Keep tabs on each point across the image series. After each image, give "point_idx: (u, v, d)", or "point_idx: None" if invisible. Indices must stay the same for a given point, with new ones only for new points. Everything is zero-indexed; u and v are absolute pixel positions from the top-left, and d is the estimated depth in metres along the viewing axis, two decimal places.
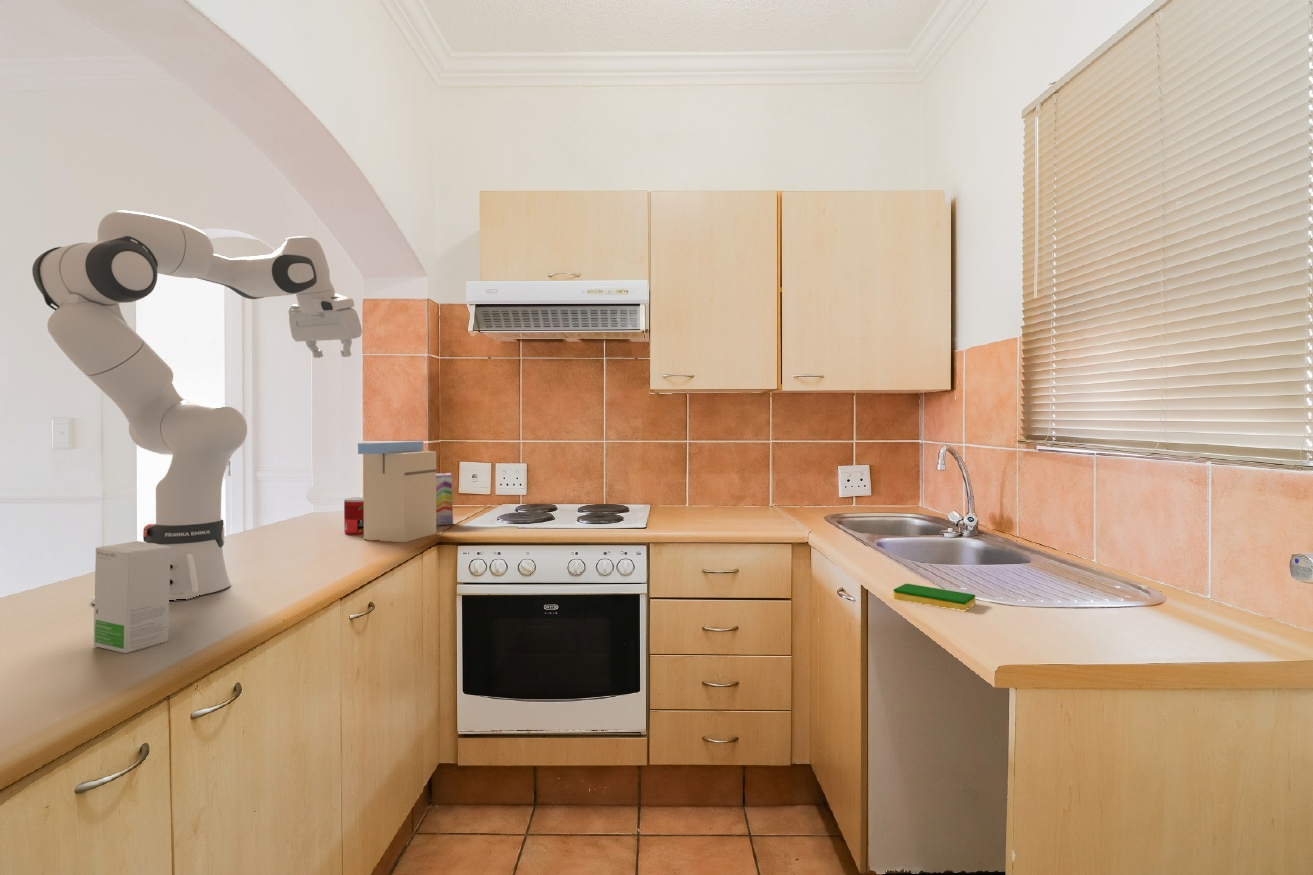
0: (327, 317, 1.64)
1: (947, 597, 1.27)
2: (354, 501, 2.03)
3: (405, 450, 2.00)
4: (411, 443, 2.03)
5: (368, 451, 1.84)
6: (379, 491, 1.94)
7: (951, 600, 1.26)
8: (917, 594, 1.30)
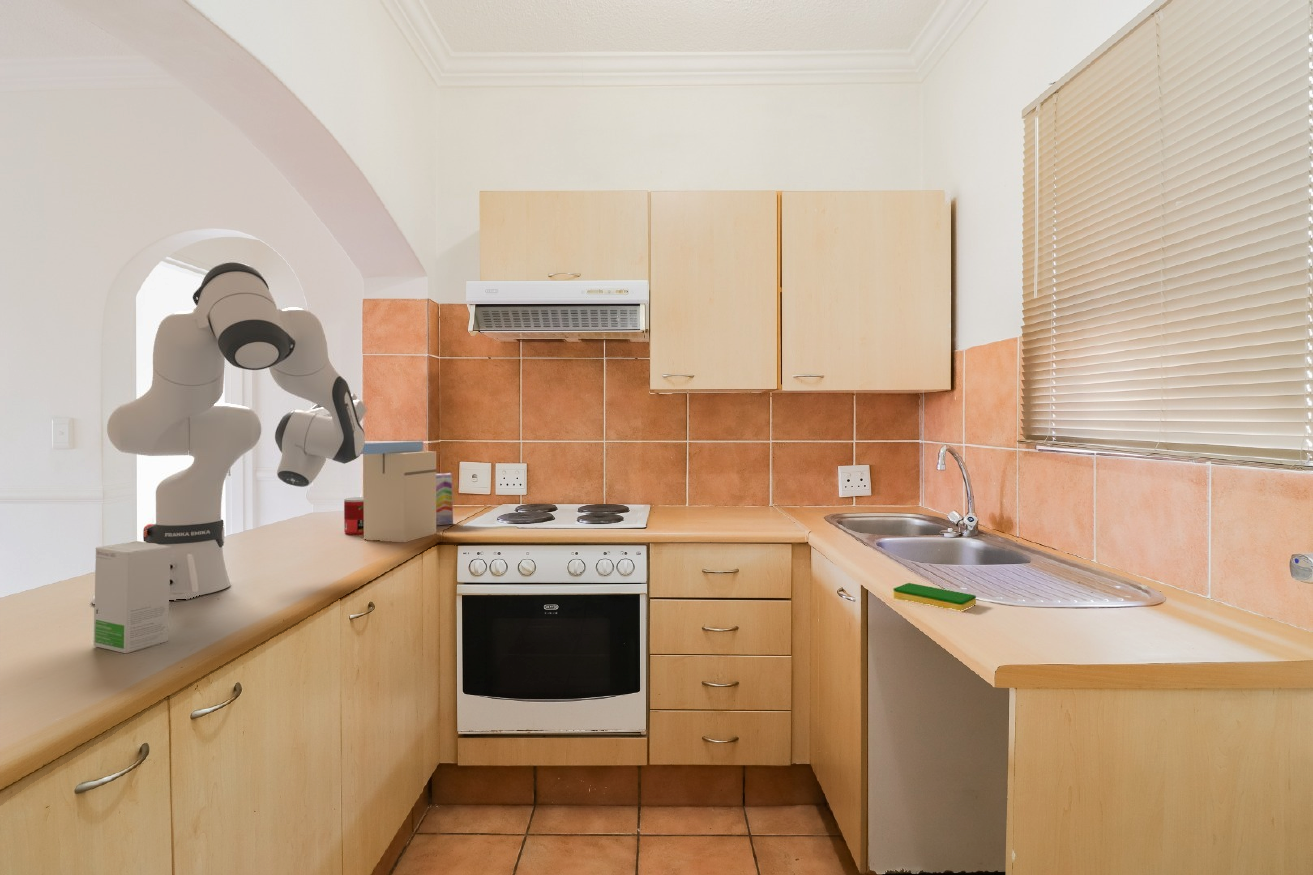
0: None
1: (945, 597, 1.27)
2: (354, 501, 2.03)
3: (405, 450, 2.00)
4: (411, 443, 2.03)
5: (368, 451, 1.84)
6: (379, 491, 1.94)
7: (949, 600, 1.26)
8: (916, 593, 1.30)
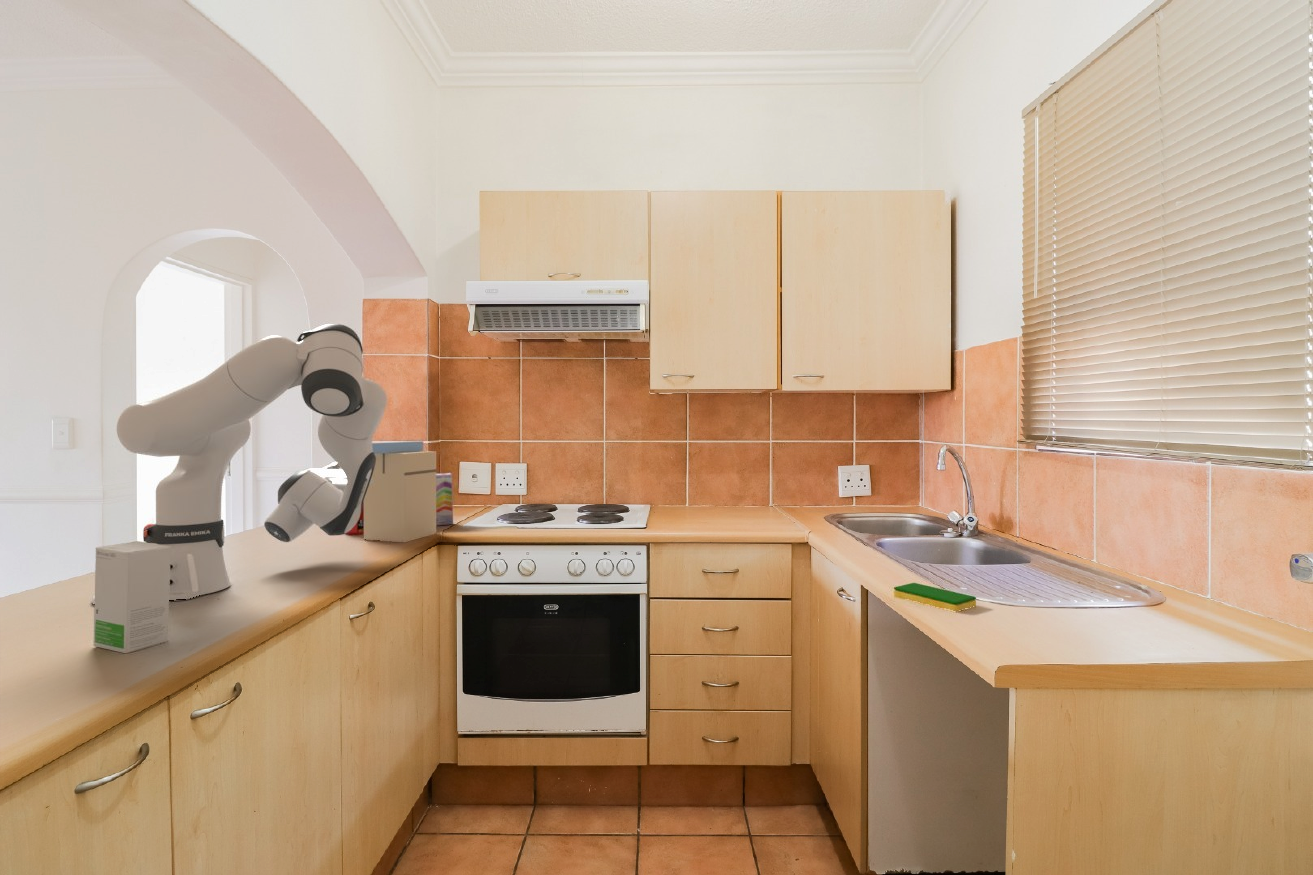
0: None
1: (942, 597, 1.27)
2: None
3: (405, 450, 2.00)
4: (411, 443, 2.03)
5: None
6: (379, 491, 1.94)
7: (944, 600, 1.26)
8: (914, 593, 1.31)
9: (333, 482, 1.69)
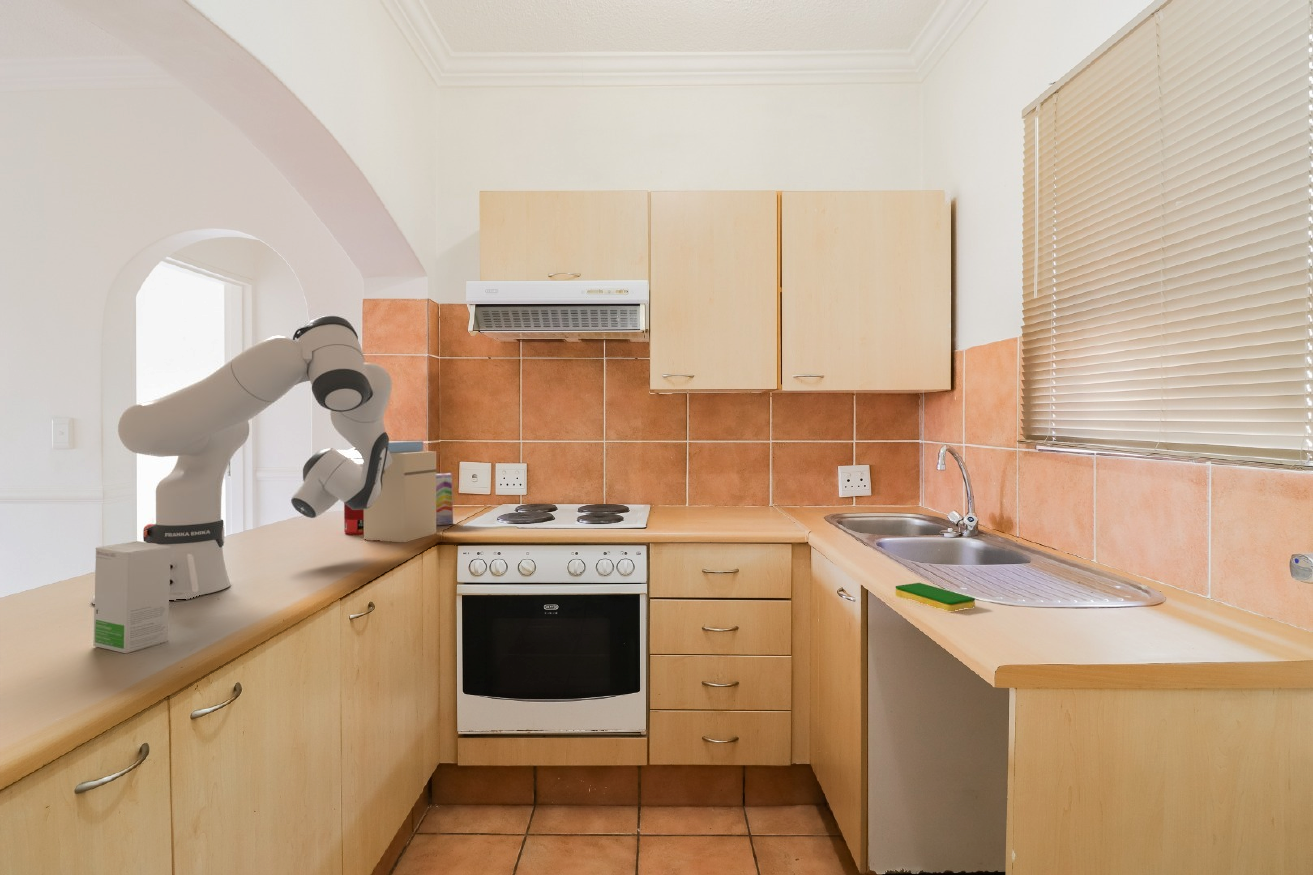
0: None
1: (938, 597, 1.27)
2: None
3: (405, 450, 2.00)
4: (411, 443, 2.03)
5: None
6: None
7: (939, 600, 1.26)
8: (913, 592, 1.32)
9: (355, 462, 1.77)
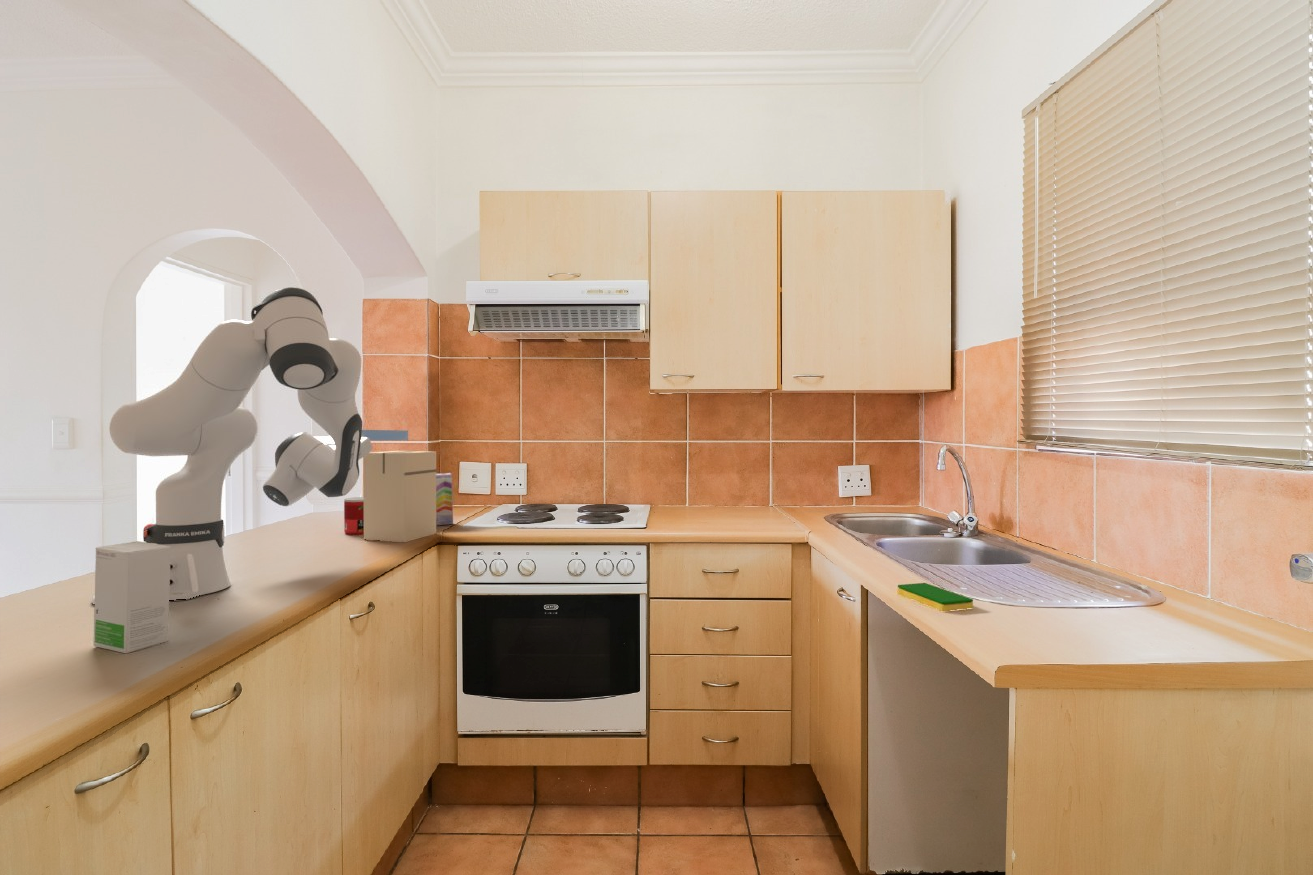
0: None
1: (934, 597, 1.27)
2: (354, 501, 2.03)
3: (388, 438, 1.91)
4: (395, 432, 1.94)
5: None
6: (379, 491, 1.94)
7: (934, 599, 1.26)
8: (912, 591, 1.32)
9: (332, 448, 1.69)
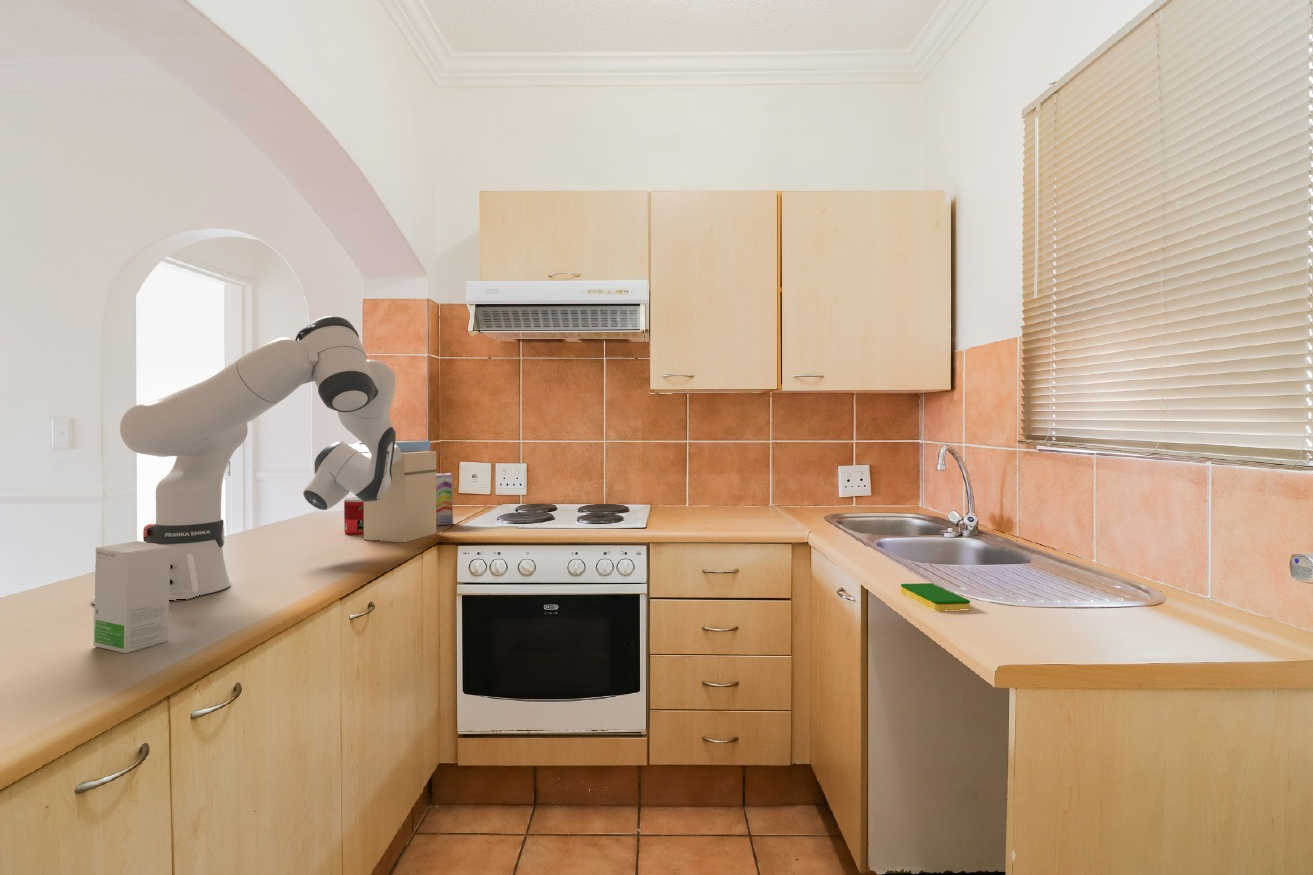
0: None
1: (930, 596, 1.28)
2: (354, 501, 2.03)
3: (413, 450, 2.04)
4: (418, 443, 2.06)
5: None
6: None
7: (929, 599, 1.26)
8: (912, 590, 1.33)
9: (365, 456, 1.81)
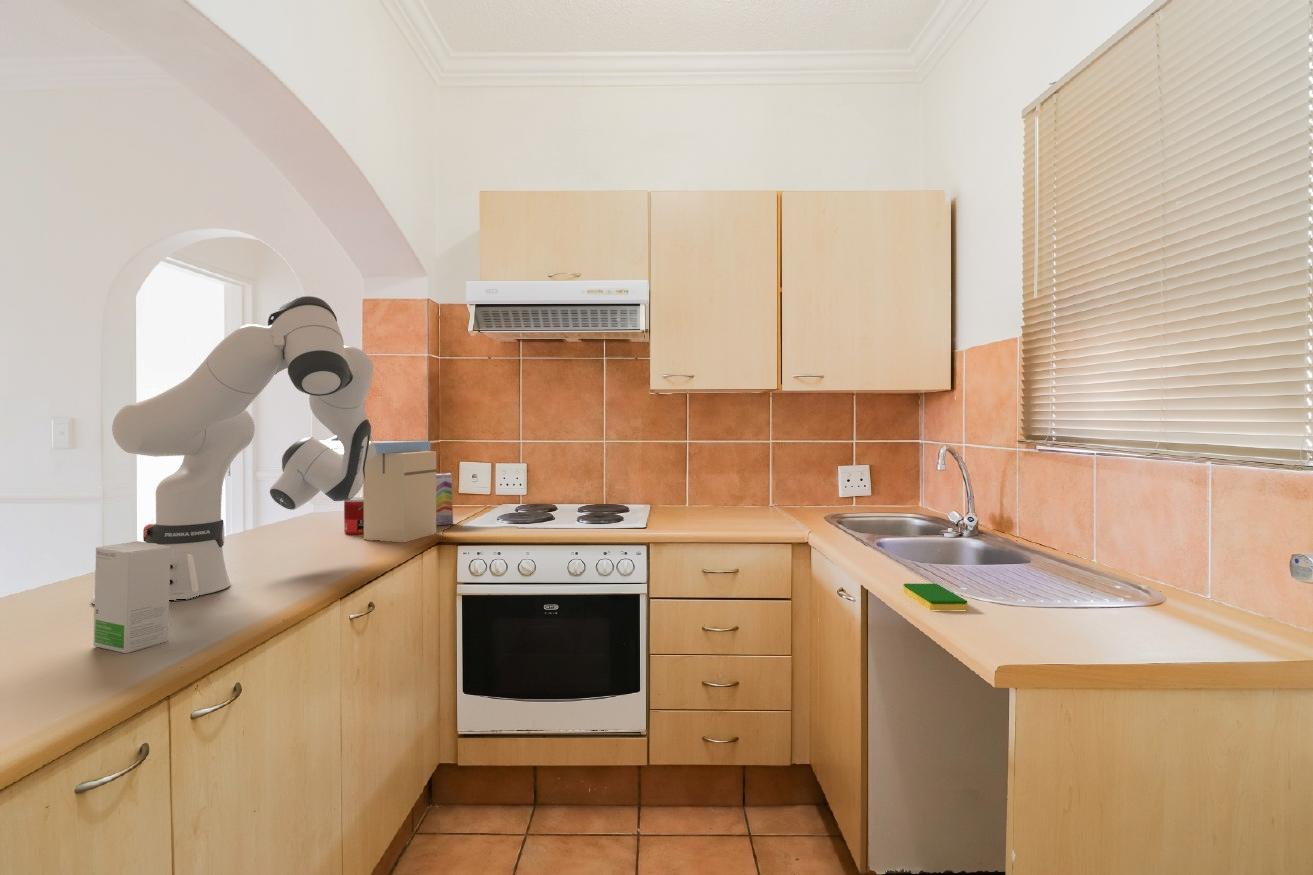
0: None
1: (927, 596, 1.28)
2: (354, 501, 2.03)
3: (413, 450, 2.04)
4: (418, 443, 2.06)
5: (377, 450, 1.88)
6: (379, 491, 1.94)
7: (925, 598, 1.27)
8: (912, 590, 1.33)
9: (337, 452, 1.71)
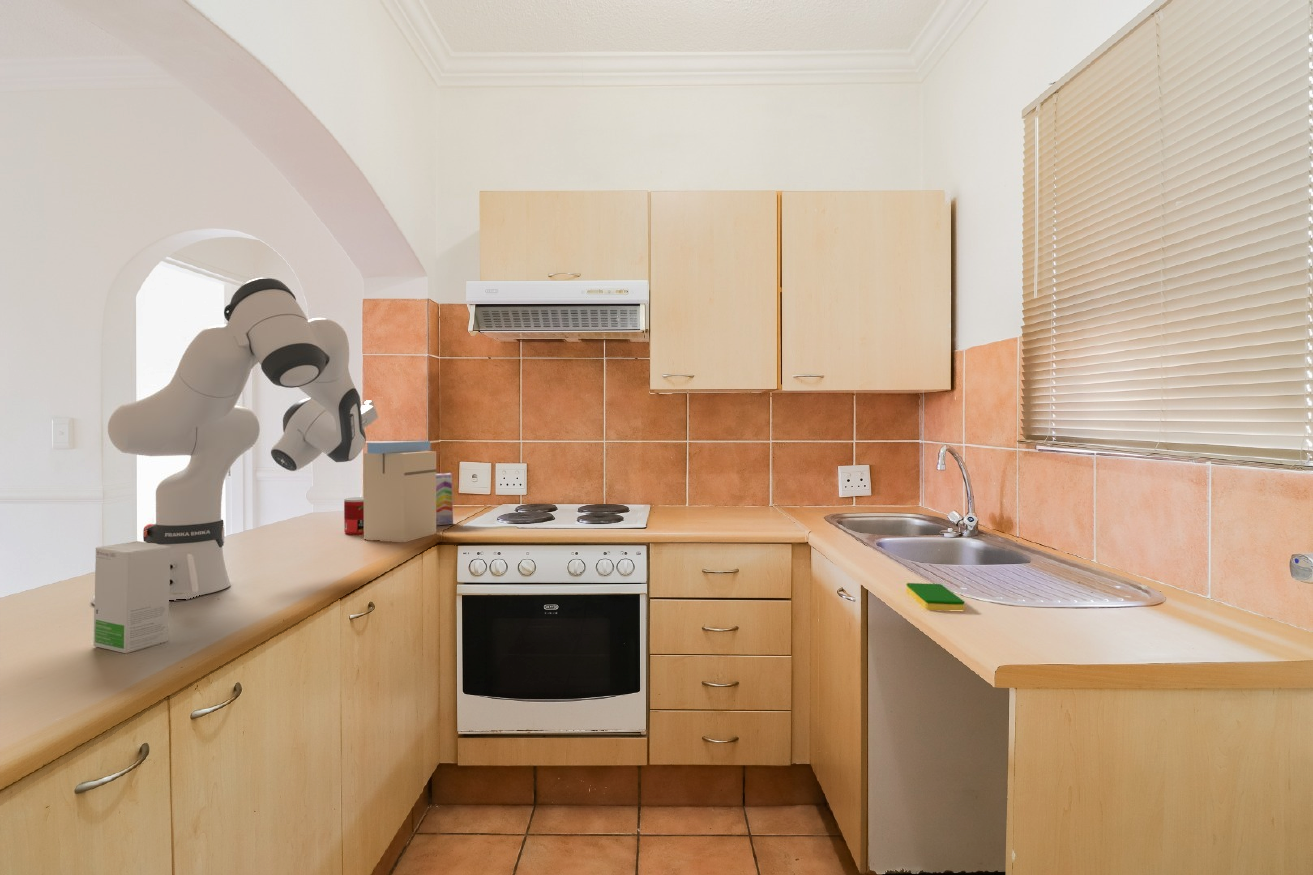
0: None
1: (925, 595, 1.28)
2: (354, 501, 2.03)
3: (413, 450, 2.04)
4: (418, 443, 2.06)
5: (377, 450, 1.88)
6: (379, 491, 1.94)
7: (922, 598, 1.27)
8: (913, 589, 1.34)
9: None
